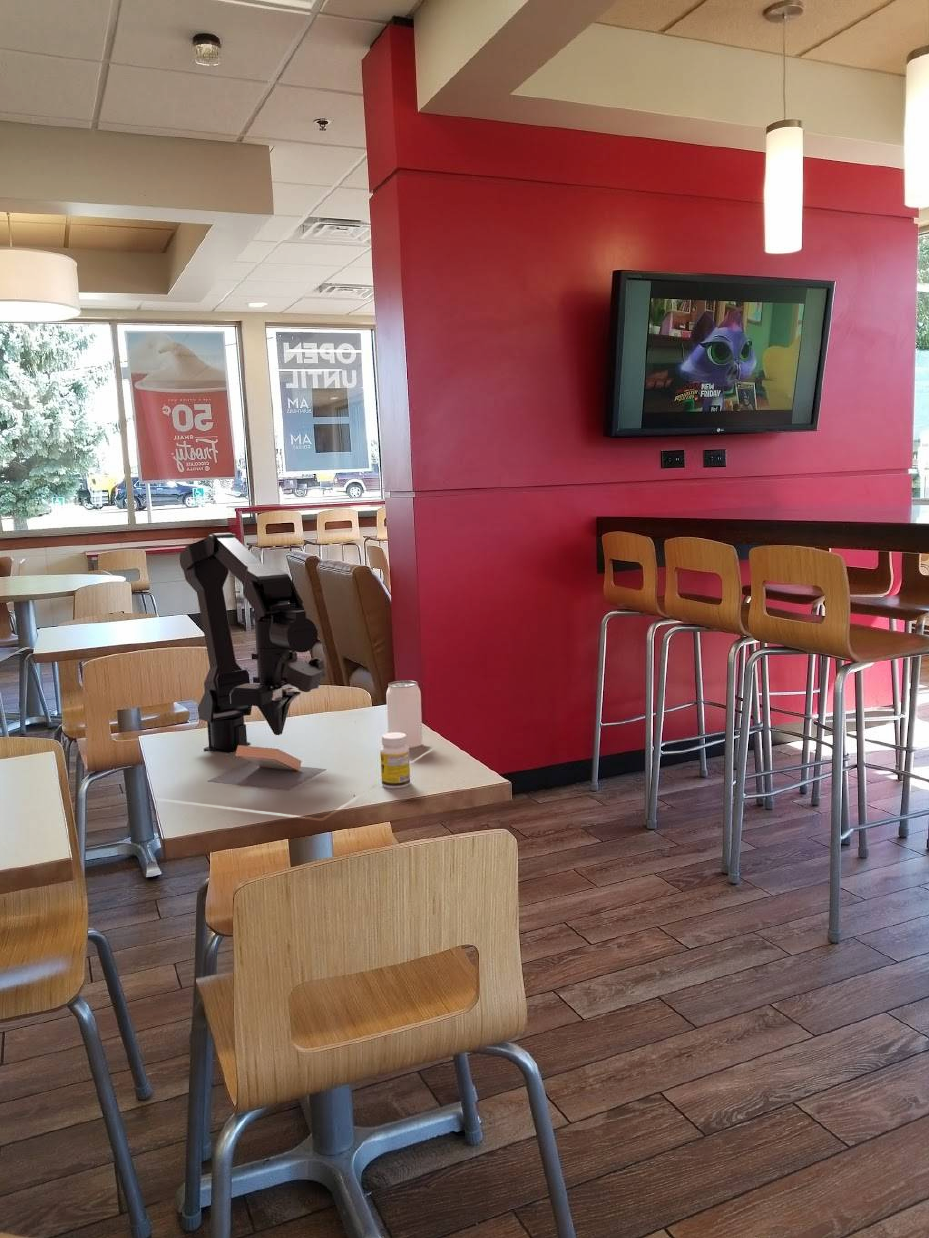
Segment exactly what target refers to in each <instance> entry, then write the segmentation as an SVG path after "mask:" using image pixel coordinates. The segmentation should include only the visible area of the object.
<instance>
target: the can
mask: <svg viewBox="0 0 929 1238" xmlns="http://www.w3.org/2000/svg"><path fill="white" fill-rule="evenodd" d="M418 684H419V682H417V681H414V680H397V681H392V682H390V683H388V688H387V690H386V692H385V693H386V696H385V698H386V718H387V719H386V720H387V733H392V732H399V733H404V734H406V740H407V742H406V744H405V745H407V746H408V748H409V749H411V748H417V747H420V746H422V744H423V727H422V726H423V724H422V722H423V721H422V694H421V690H420V687H419V685H418Z"/></svg>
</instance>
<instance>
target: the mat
mask: <svg viewBox="0 0 929 1238" xmlns="http://www.w3.org/2000/svg"><path fill="white" fill-rule="evenodd" d="M326 770H327V768H319V767H311V766H310V767H309V766H300V770H299V771H294V770H284V769H275V768H265V767H259V766H257V765H255V764H253V763H251V762H248V761H246V762H245V763H243V764H240V765H238V766H237V767H234V768H232V769H230V770H228V771H226V772H223V773H221V774H219V775H217V776H215V777H213V778H211V779H209V780H208V782H212V783H219V784H220V783H221V784H228V785H234V786H235V785H236V786H247V787H256V788H265V789H272V790H281V791H290V790H292V789H294V788H295V787H297V786H299V785H301V784H303V783H304V782H306V781H308V780H309V779H312V778H313V777H315V776H317V775H319V774H320V773H322V772H323V773H324V772H325V771H326Z"/></svg>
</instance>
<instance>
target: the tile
mask: <svg viewBox="0 0 929 1238" xmlns="http://www.w3.org/2000/svg"><path fill="white" fill-rule="evenodd" d="M235 756H236V757H237V758H241V759H242V760H244V761H246V762H251V763H253V764H255V765H257V766H259V767H265V768H275V769H284V770H294V771H299V770H300V766H301V765H302V760H301V759H299V758H297V757H294V756H293V755H291V754H289V753H287V752H285V751H283V750H281V749H279V748H273V747H263V746H262V747H261V746H251V745H248V746H242V745H238V747H237V751H235ZM301 767H302V766H301Z"/></svg>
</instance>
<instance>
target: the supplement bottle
mask: <svg viewBox="0 0 929 1238" xmlns="http://www.w3.org/2000/svg"><path fill="white" fill-rule="evenodd" d="M406 742H407V740H406V734H404V733H399V732H392V733H388V732H387V733H384V734H382V736H381V745H382V746H381V747H380V752H379V754H380V770H381V771H380V772H381V774H380V775H381V785H382V787H384V788H385V789H391V790H392V789H393V790H395V789H403V788H407V787H409V786H410V784H411V768H410V767H411V766H410V748H408V746H407V745H405V744H406Z"/></svg>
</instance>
